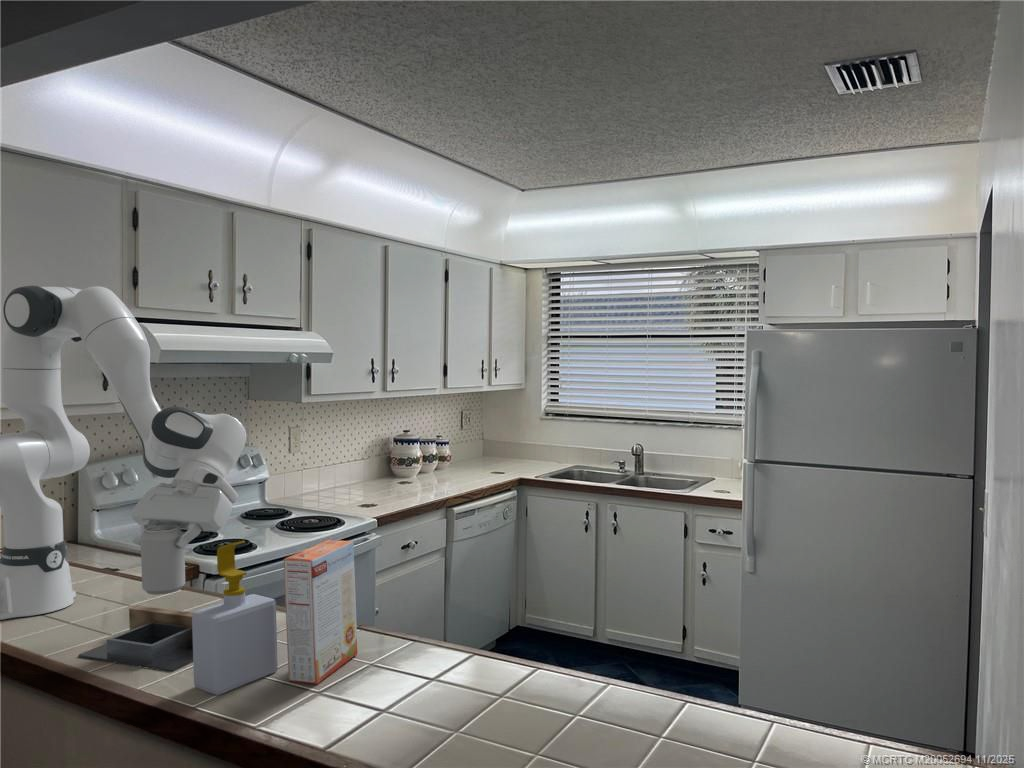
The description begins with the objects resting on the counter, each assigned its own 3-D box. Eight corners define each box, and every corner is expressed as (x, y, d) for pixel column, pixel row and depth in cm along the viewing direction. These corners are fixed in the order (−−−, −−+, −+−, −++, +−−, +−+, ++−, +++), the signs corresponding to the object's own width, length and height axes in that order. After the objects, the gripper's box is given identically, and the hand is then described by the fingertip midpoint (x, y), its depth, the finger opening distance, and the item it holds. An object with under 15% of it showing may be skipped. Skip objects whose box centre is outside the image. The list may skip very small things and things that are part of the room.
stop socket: (78, 656, 144) (77, 638, 144) (131, 635, 155) (131, 617, 155) (172, 672, 136) (171, 652, 136) (221, 647, 147) (220, 629, 147)
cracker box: (329, 651, 144) (326, 538, 143) (358, 655, 142) (356, 540, 142) (285, 682, 131) (281, 557, 130) (316, 686, 129) (313, 559, 128)
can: (175, 595, 145) (173, 530, 144) (134, 596, 145) (132, 531, 144) (191, 583, 152) (190, 522, 152) (153, 584, 152) (151, 522, 152)
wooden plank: (129, 633, 156) (129, 608, 156) (137, 630, 158) (137, 605, 157) (227, 647, 147) (226, 621, 147) (234, 643, 149) (233, 617, 149)
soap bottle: (216, 697, 125) (212, 551, 124) (192, 687, 129) (188, 546, 128) (279, 671, 135) (275, 536, 134) (255, 663, 139) (251, 532, 138)
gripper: (146, 473, 158) (107, 532, 149) (229, 478, 151) (193, 539, 142) (164, 492, 162) (127, 550, 153) (245, 497, 155) (211, 558, 146)
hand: (160, 545), depth 148 cm, fingers closed on can, 7 cm apart
